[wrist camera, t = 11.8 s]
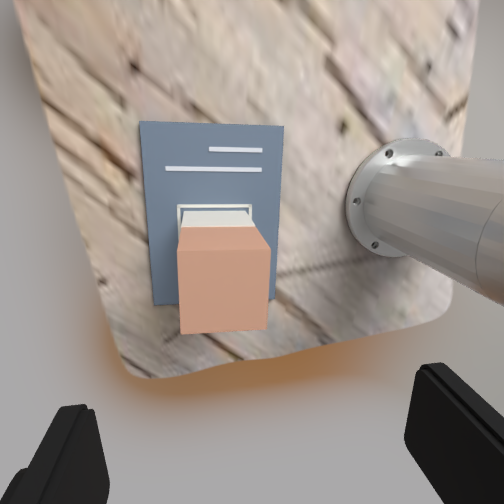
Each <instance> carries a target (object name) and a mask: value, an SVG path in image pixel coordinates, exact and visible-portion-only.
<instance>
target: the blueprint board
mask: <svg viewBox="0 0 504 504" xmlns="http://www.w3.org/2000/svg"><path fill="white" fill-rule="evenodd" d="M139 124H140V136H141V149H142V161H143V174H144V186H145V199H146V211H147V224H148V236H149V248H150V261H151V273H152V286H153V298H154V305H168V304H179V286H178V264H177V248H178V243H179V237H180V232H181V224H182V219H183V214H184V211H246V212H247V214H248V215H249V217H250V218H251V220H252V221H253V223H254V224H255V227H256V228H257V229H258V231H259V232H260V234H261V235H262V237H263V238H264V240H265V241H266V243H267V244H268V245H269V247H270V248H271V260H270V279H269V298H268V299H275V283H276V265H277V246H278V228H279V209H280V190H281V172H282V153H283V134H284V126H267V125H239V124H211V123H184V122H156V121H139Z"/></svg>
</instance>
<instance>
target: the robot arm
mask: <svg viewBox="0 0 504 504" xmlns="http://www.w3.org/2000/svg"><path fill="white" fill-rule="evenodd" d="M385 153H386V155H385ZM354 199H355V201H354V202H353V200H354ZM346 217H347V221H348V225H349V228H350V230H351V232H352V234H353V235H354V237H355V238H356V240H357V241H358V242H359V243H360V244H361V245H363V246H364V247H365V248H366V249H368V250H369V251H371V252H373V253H376V254H378V255H380V256H386V257H403V256H407V255H409V256H411V257H412V258H414V259H416V260H418V261H420V262H422V263H424V264H425V265H427V266H429V267H431V268H433V269H435V270H436V271H438V272H440V273H442V274H444V275H446V276H448V277H449V278H451V279H453V280H455V281H457V282H459V283H460V284H462V285H464V286H466V287H468V288H470V289H472V290H473V291H475V292H477V293H479V294H481V295H483V296H484V297H486V298H488V299H490V300H492V301H494V302H496V303H497V304H500V305H502V306H504V160H496V159H480V158H479V159H478V158H463V157H451V156H450V155H449V154H448V152H447V151H446V150H445V149H444V148H442V147H441V146H439V145H438V144H437V143H434V142H432V141H429V140H426V139H419V138H406V139H400V140H395V141H393V142H390V143H388V144H385V145H383V146H382V147H380V148H379V149H377V150H375V151H374V152H373V153H372V154H371V155H370V156H368V157H367V158H366V159H365V160H364V162H363V163H362V164H361V165H360V167H359V168H358V169H357V171H356V173H355V175H354V177H353V178H352V180H351V183H350V186H349V189H348V192H347V198H346ZM404 441H405V444H406V447H407V449H408V450H409V452H410V454H411V455H412V457H413V458H414V459H415V461H416V462H417V464H418V465H419V467H420V468H421V470H422V471H423V473H424V474H425V476H426V477H427V479H428V480H429V482H430V483H431V485H432V486H433V488H434V489H435V491H436V492H437V494H438V495H439V497H440V498H441V500H442V501H443V503H444V504H504V417H503V416H501V415H500V414H499V413H498V412H497V411H496V410H495V409H494V408H493V407H491V405H489V404H488V403H487V402H486V401H485V400H484V399H483V398H482V397H481V396H480V395H479V394H477V393H476V392H475V391H474V390H473V389H472V388H471V387H470V386H469V385H468V384H466V383H465V382H464V381H463V380H462V379H461V378H460V377H459V376H458V375H457V374H455V373H454V372H453V371H452V370H451V369H450V368H449V367H448V366H447V365H445V364H444V363H441V362H440V363H431V364H424V365H422V366H421V367H420V369H419V370H418V371H417V372H416V375H415V381H414V386H413V391H412V396H411V401H410V407H409V412H408V418H407V423H406V428H405V434H404ZM109 488H110V481H109V475H108V471H107V466H106V462H105V457H104V452H103V448H102V444H101V439H100V434H99V430H98V425H97V420H96V416H95V412H94V410H93V409H88V408H87V406H86V405H85V404H81V405H71V406H63V407H61V408H60V409H59V410H58V412H57V413H56V415H55V417H54V419H53V421H52V423H51V425H50V427H49V428H48V430H47V432H46V434H45V436H44V438H43V440H42V442H41V444H40V445H39V448H38V449H37V451H36V453H35V455H34V457H33V459H32V461H31V462H30V464H29V466H28V468H24V469H21V470H20V471H19V472H18V473H16V475H15V476H14V478H13V479H12V481H11V482H10V484H9V486H8V488H7V490H6V492H5V493H4V495H3V497H2V498H1V500H0V504H106V503H107V499H108V495H109Z"/></svg>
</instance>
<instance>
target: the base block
mask: <svg viewBox="0 0 504 504" xmlns="http://www.w3.org/2000/svg"><path fill="white" fill-rule="evenodd" d="M181 227H255V224H254V223H253V221H252V220H251V218H250V217H249V215H248V214H247V212H246V211H184V214H183V219H182V224H181Z"/></svg>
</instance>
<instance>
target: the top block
mask: <svg viewBox="0 0 504 504" xmlns="http://www.w3.org/2000/svg"><path fill="white" fill-rule="evenodd" d="M270 260H271V248H270V247H269V245H268V244H267V243H266V241H265V240H264V238H263V237H262V235H261V234H260V232H259V231H258V229H257V228H256V227H181V232H180V237H179V243H178V248H177V264H178V286H179V308H180V330H181V334H196V333H213V332H229V331H246V330H262V329H267V317H268V298H269V279H270Z"/></svg>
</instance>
